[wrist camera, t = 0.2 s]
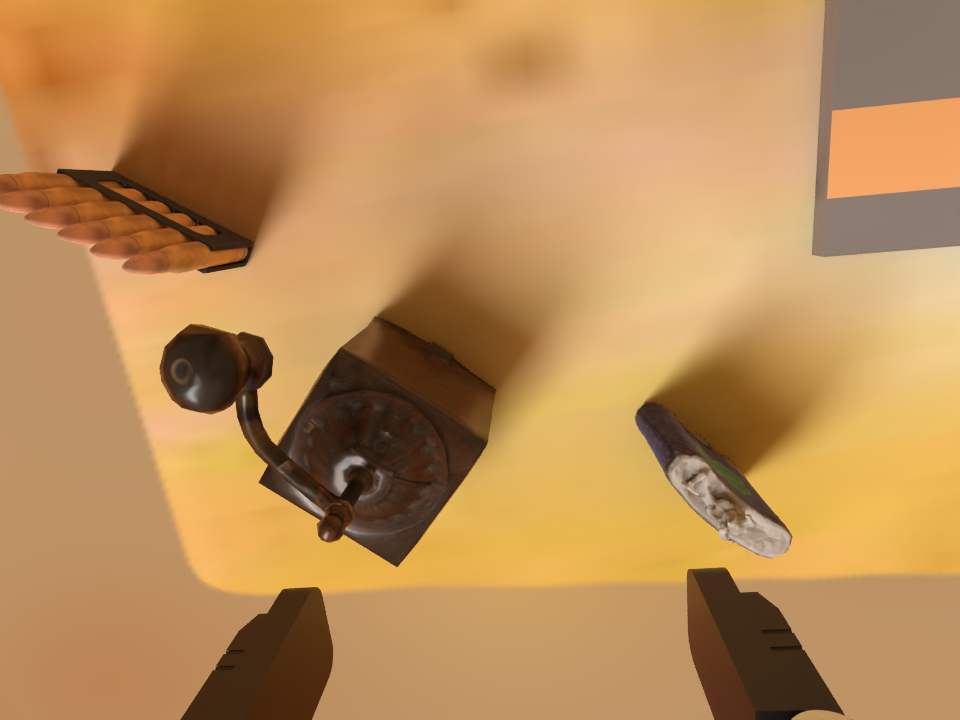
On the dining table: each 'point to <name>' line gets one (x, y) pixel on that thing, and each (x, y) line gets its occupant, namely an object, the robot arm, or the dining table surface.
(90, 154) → the dining table surface
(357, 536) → the black coffee grinder
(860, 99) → the board
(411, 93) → the dining table surface
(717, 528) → the flask
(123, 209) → the ammunition clip
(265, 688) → the robot arm
